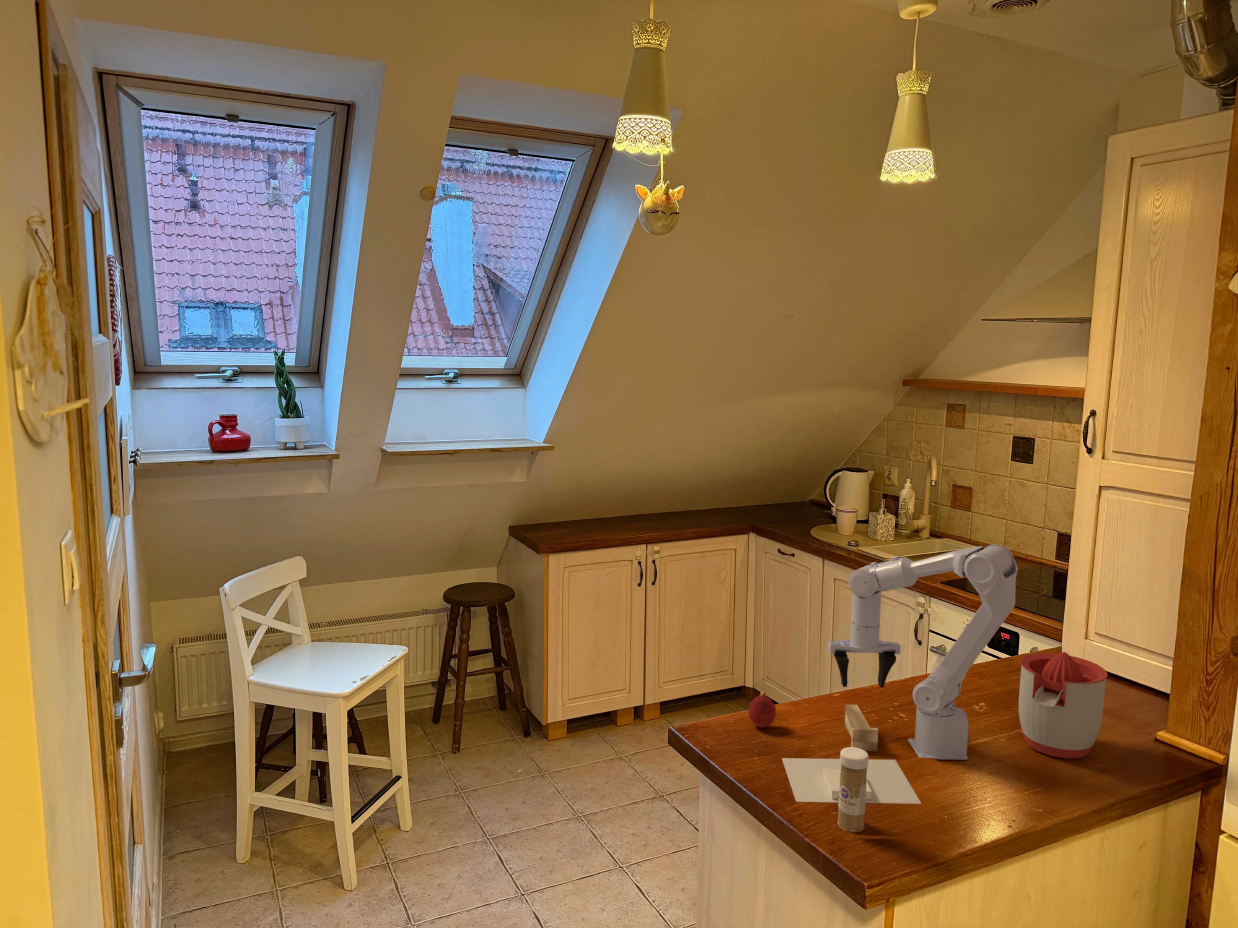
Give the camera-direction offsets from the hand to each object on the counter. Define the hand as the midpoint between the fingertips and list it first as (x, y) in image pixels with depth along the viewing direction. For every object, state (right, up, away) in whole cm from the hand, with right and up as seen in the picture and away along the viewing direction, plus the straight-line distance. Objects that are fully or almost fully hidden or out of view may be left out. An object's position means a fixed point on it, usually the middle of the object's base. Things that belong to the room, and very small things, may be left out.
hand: (862, 685), depth 184 cm
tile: (-10, -11, -20) cm, 25 cm away
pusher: (-2, -10, -4) cm, 11 cm away
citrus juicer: (+37, -11, -7) cm, 39 cm away
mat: (-9, -13, -21) cm, 26 cm away
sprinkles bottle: (-12, -15, -36) cm, 41 cm away
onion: (-21, -10, +1) cm, 23 cm away
